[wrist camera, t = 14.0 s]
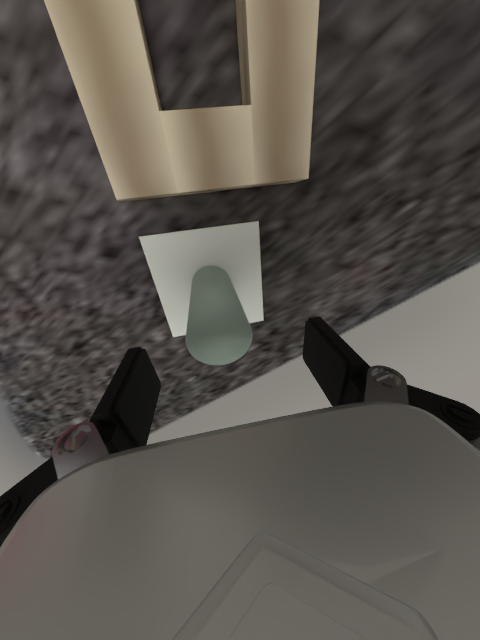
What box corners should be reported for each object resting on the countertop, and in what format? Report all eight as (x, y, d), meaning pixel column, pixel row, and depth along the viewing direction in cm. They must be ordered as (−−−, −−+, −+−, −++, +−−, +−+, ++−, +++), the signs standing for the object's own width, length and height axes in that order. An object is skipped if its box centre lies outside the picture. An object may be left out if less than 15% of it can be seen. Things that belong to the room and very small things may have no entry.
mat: (257, 220, 21) (258, 221, 20) (262, 318, 27) (263, 320, 26) (140, 236, 19) (138, 236, 19) (173, 334, 26) (173, 337, 25)
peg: (228, 262, 22) (249, 304, 12) (233, 299, 24) (254, 358, 15) (187, 268, 21) (177, 316, 12) (196, 305, 23) (194, 370, 14)
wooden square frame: (304, -150, 11) (335, -256, 9) (294, 182, 20) (308, 178, 17) (3, -169, 10) (-67, -304, 7) (128, 201, 18) (116, 199, 15)
